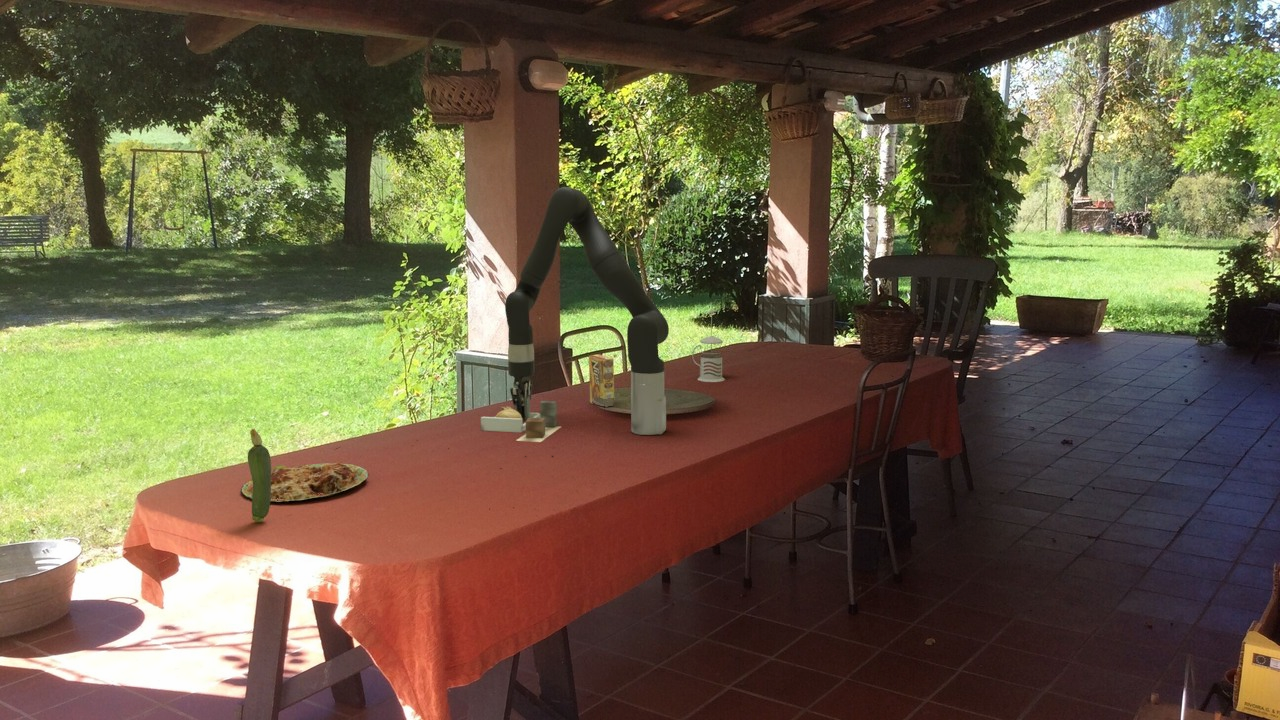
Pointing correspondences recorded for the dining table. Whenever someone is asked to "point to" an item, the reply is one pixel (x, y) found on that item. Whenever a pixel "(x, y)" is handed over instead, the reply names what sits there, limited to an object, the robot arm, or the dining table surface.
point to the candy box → (601, 377)
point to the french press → (715, 358)
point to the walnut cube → (535, 427)
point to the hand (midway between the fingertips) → (522, 417)
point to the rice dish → (311, 481)
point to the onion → (508, 413)
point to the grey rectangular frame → (508, 421)
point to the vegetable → (260, 477)
